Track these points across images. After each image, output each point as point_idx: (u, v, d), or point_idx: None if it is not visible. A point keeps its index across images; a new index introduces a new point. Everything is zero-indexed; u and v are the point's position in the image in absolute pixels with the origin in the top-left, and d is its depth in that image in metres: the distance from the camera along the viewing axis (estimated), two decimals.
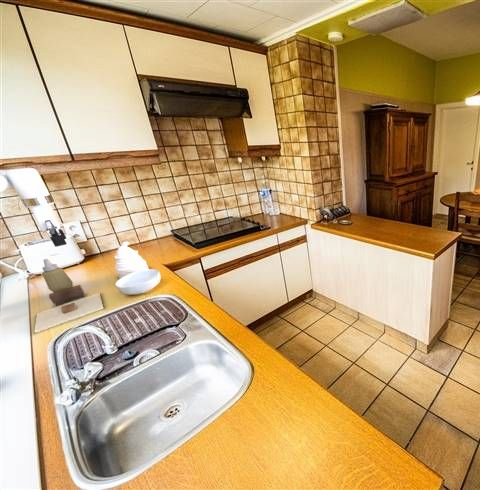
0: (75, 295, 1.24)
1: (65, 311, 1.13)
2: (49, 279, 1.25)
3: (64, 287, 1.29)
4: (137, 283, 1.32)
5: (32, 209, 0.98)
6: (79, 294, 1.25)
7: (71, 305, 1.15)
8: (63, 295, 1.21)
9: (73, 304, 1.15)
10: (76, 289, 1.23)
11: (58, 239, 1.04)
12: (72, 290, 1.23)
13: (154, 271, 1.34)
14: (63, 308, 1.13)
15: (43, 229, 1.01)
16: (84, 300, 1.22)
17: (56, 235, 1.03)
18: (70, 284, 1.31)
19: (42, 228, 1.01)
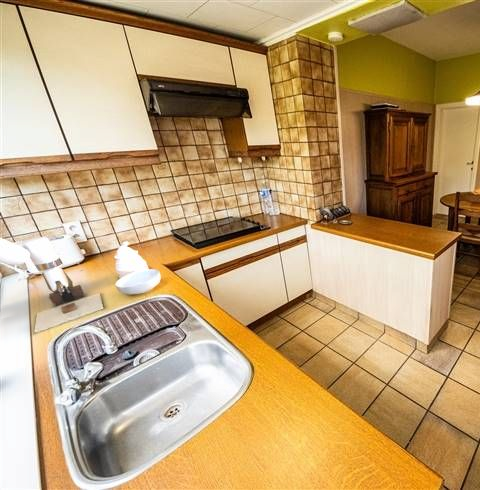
0: (75, 295, 1.24)
1: (65, 311, 1.13)
2: None
3: None
4: (137, 283, 1.32)
5: (44, 273, 1.13)
6: (79, 294, 1.25)
7: (71, 305, 1.15)
8: None
9: (73, 304, 1.15)
10: (76, 289, 1.23)
11: (68, 296, 1.21)
12: (72, 290, 1.23)
13: (154, 271, 1.34)
14: (63, 308, 1.13)
15: (53, 289, 1.16)
16: (84, 300, 1.22)
17: (66, 294, 1.20)
18: (70, 284, 1.31)
19: (53, 288, 1.16)
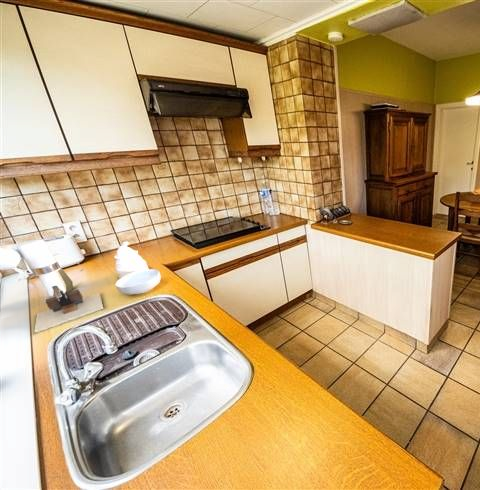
0: (73, 300, 1.18)
1: (65, 311, 1.13)
2: None
3: None
4: (137, 283, 1.32)
5: (40, 277, 1.07)
6: (78, 299, 1.19)
7: (71, 305, 1.15)
8: None
9: (73, 304, 1.15)
10: (74, 294, 1.17)
11: (65, 302, 1.15)
12: (70, 295, 1.16)
13: (154, 271, 1.34)
14: (63, 308, 1.13)
15: (50, 294, 1.10)
16: (84, 300, 1.22)
17: (64, 299, 1.14)
18: (70, 284, 1.31)
19: (49, 293, 1.10)
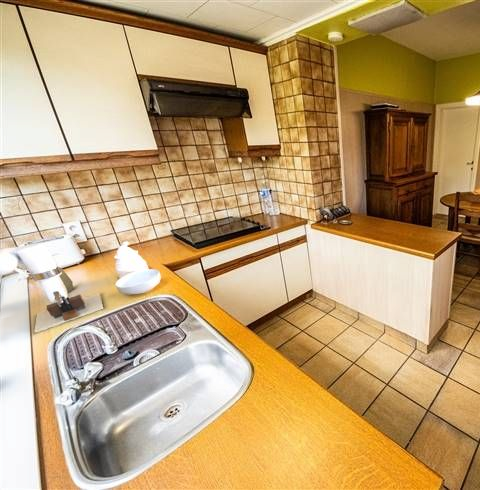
0: (75, 306, 1.13)
1: (66, 318, 1.08)
2: None
3: None
4: (137, 283, 1.32)
5: (41, 283, 1.03)
6: (80, 305, 1.14)
7: (73, 311, 1.10)
8: None
9: (75, 310, 1.11)
10: (76, 299, 1.13)
11: (67, 308, 1.11)
12: (72, 301, 1.12)
13: (154, 271, 1.34)
14: (64, 315, 1.09)
15: (51, 300, 1.06)
16: (84, 300, 1.22)
17: (65, 305, 1.10)
18: (70, 284, 1.31)
19: (50, 299, 1.05)
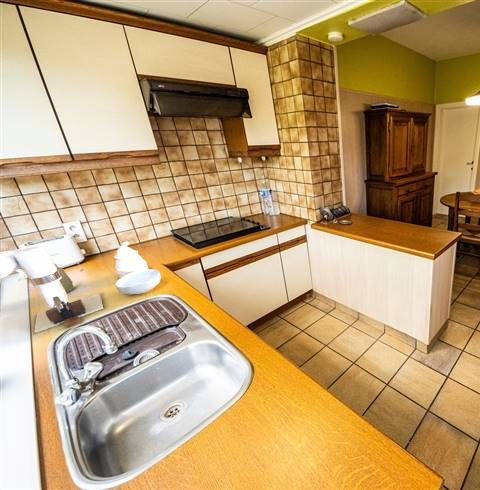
0: (75, 311, 1.10)
1: (69, 325, 1.06)
2: None
3: (64, 287, 1.29)
4: (137, 283, 1.32)
5: (40, 288, 0.99)
6: (80, 310, 1.11)
7: (75, 318, 1.08)
8: None
9: (77, 317, 1.08)
10: (76, 305, 1.10)
11: (67, 313, 1.07)
12: (72, 306, 1.09)
13: (154, 271, 1.34)
14: (67, 321, 1.06)
15: (51, 306, 1.02)
16: (84, 300, 1.22)
17: (65, 310, 1.06)
18: (70, 284, 1.31)
19: (50, 305, 1.02)
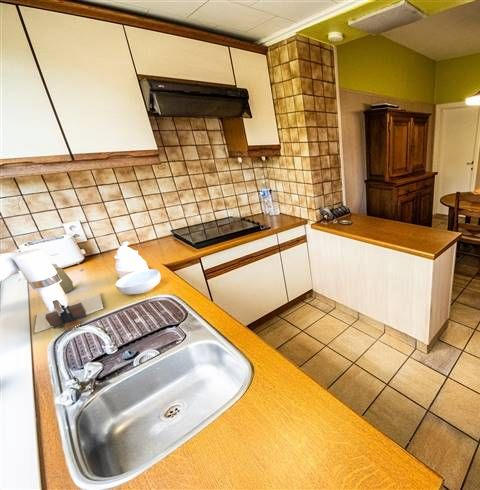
0: (76, 315, 1.07)
1: (69, 329, 1.03)
2: None
3: (64, 287, 1.29)
4: (137, 283, 1.32)
5: (40, 291, 0.97)
6: (81, 314, 1.08)
7: (75, 322, 1.05)
8: None
9: (77, 321, 1.06)
10: (77, 308, 1.07)
11: (67, 317, 1.05)
12: (72, 309, 1.06)
13: (154, 271, 1.34)
14: (67, 326, 1.04)
15: (50, 309, 1.00)
16: (84, 300, 1.22)
17: (66, 314, 1.04)
18: (70, 284, 1.31)
19: (49, 309, 0.99)
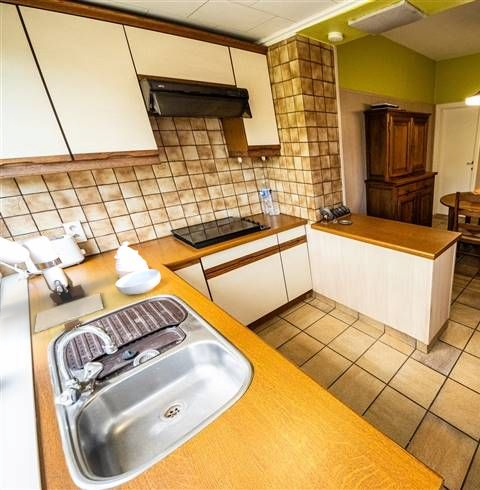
0: (76, 295, 1.24)
1: (69, 329, 1.03)
2: None
3: None
4: (137, 283, 1.32)
5: (43, 272, 1.13)
6: (80, 294, 1.25)
7: (75, 322, 1.05)
8: None
9: (77, 321, 1.06)
10: (77, 289, 1.24)
11: (65, 295, 1.18)
12: (73, 290, 1.23)
13: (154, 271, 1.34)
14: (67, 326, 1.04)
15: (52, 288, 1.16)
16: (84, 300, 1.22)
17: (64, 292, 1.18)
18: (70, 284, 1.31)
19: (52, 287, 1.15)
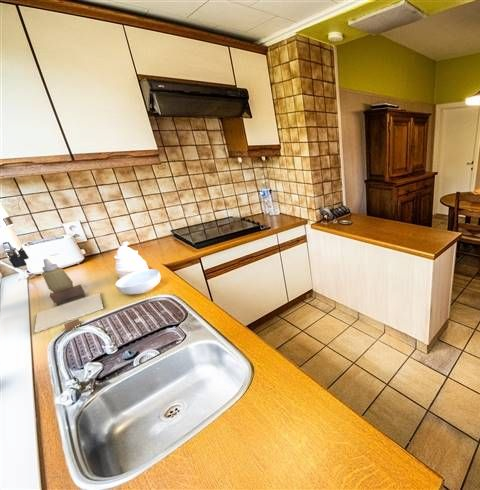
0: (76, 295, 1.24)
1: (69, 329, 1.03)
2: (49, 279, 1.25)
3: (64, 287, 1.29)
4: (137, 283, 1.32)
5: None
6: (80, 294, 1.25)
7: (75, 322, 1.05)
8: (64, 295, 1.21)
9: (77, 321, 1.06)
10: (77, 289, 1.24)
11: (17, 260, 1.04)
12: (73, 290, 1.23)
13: (154, 271, 1.34)
14: (67, 326, 1.04)
15: (1, 251, 1.01)
16: (84, 300, 1.22)
17: (15, 257, 1.03)
18: (70, 284, 1.31)
19: (0, 250, 1.01)
